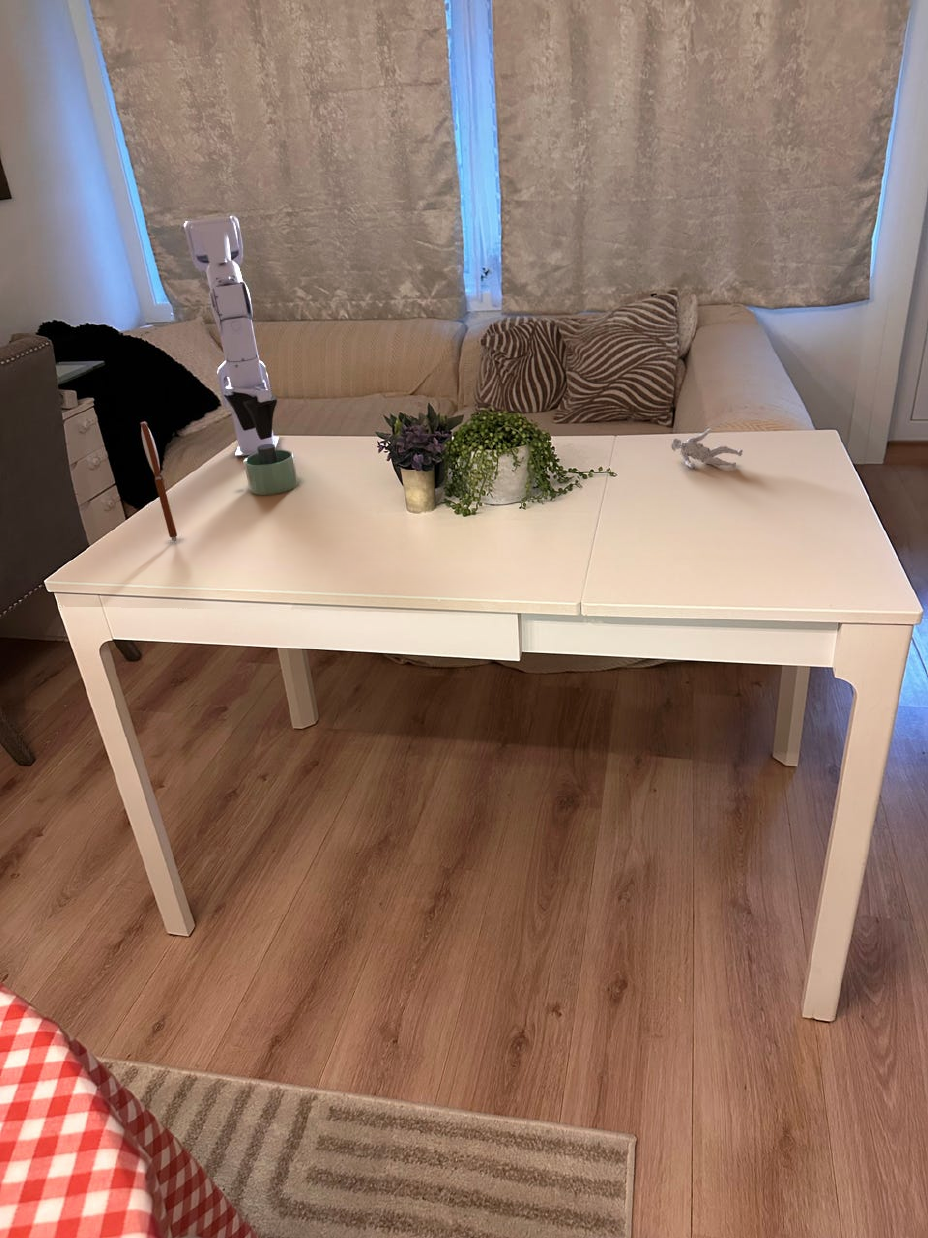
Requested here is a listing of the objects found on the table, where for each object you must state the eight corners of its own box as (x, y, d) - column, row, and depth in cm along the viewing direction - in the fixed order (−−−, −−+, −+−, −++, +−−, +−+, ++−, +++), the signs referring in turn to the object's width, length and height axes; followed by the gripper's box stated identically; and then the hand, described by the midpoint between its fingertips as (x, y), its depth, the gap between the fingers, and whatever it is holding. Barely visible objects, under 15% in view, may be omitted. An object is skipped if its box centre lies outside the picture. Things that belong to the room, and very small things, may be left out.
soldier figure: (726, 480, 155) (661, 453, 158) (725, 490, 159) (662, 463, 163) (747, 440, 155) (682, 414, 159) (745, 451, 160) (682, 425, 163)
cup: (253, 480, 173) (247, 452, 170) (299, 475, 173) (294, 447, 170) (247, 497, 165) (240, 468, 162) (295, 491, 165) (290, 462, 163)
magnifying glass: (183, 549, 147) (151, 428, 137) (172, 552, 146) (140, 430, 136) (177, 531, 154) (146, 414, 144) (166, 533, 153) (135, 416, 143)
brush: (265, 481, 170) (258, 444, 167) (282, 479, 170) (275, 442, 167) (263, 487, 167) (256, 450, 164) (281, 485, 167) (273, 448, 164)
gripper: (205, 356, 162) (221, 430, 169) (236, 369, 151) (252, 448, 158) (242, 348, 165) (257, 421, 172) (275, 360, 154) (289, 437, 161)
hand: (257, 433), depth 165 cm, fingers open, 7 cm apart
